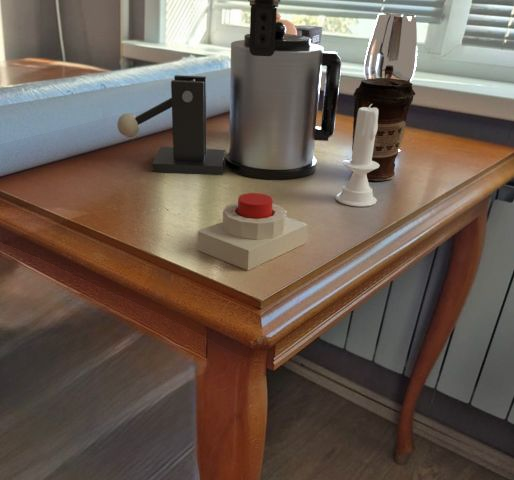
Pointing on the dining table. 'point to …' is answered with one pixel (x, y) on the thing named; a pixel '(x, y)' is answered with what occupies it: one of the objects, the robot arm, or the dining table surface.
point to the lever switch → (140, 118)
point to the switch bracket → (189, 132)
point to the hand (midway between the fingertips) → (261, 50)
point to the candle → (361, 160)
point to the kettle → (280, 107)
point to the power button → (255, 206)
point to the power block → (251, 237)
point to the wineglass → (392, 48)
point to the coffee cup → (385, 119)
